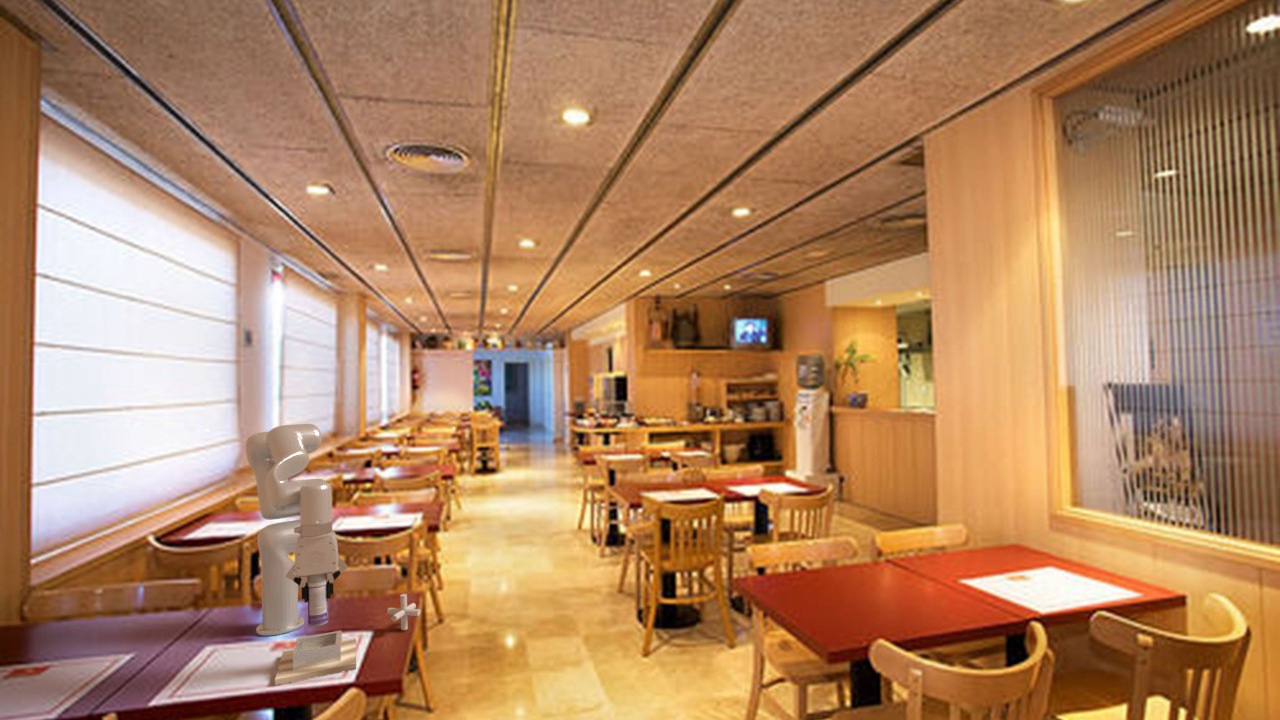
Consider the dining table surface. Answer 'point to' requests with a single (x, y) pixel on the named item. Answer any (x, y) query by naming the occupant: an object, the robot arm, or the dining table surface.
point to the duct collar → (317, 650)
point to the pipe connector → (403, 611)
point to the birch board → (290, 675)
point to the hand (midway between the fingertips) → (317, 598)
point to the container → (317, 600)
